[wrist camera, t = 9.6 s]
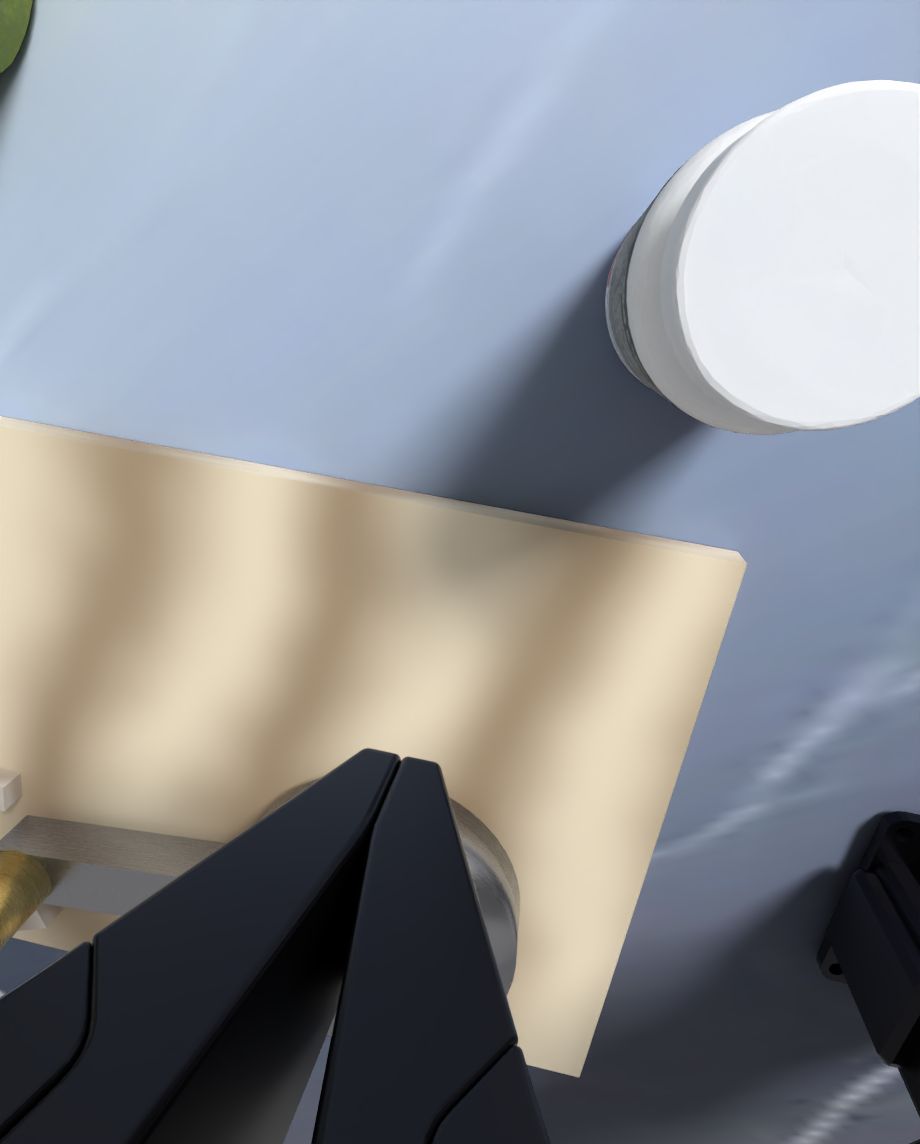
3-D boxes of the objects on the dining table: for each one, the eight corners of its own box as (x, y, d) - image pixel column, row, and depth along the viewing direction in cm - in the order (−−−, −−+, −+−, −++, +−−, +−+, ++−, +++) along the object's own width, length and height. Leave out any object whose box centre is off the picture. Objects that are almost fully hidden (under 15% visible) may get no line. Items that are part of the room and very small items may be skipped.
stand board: (737, 551, 18) (755, 575, 16) (578, 1049, 25) (580, 1101, 24) (-58, 405, 20) (-115, 413, 18) (7, 910, 27) (-29, 949, 26)
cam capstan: (531, 793, 20) (520, 961, 15) (510, 1010, 23) (494, 1211, 18) (-2, 725, 22) (-177, 852, 17) (47, 934, 25) (-88, 1095, 20)
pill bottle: (655, 433, 17) (730, 526, 10) (569, 259, 16) (576, 205, 9) (844, 333, 16) (1109, 348, 8) (764, 136, 15) (984, -62, 7)
